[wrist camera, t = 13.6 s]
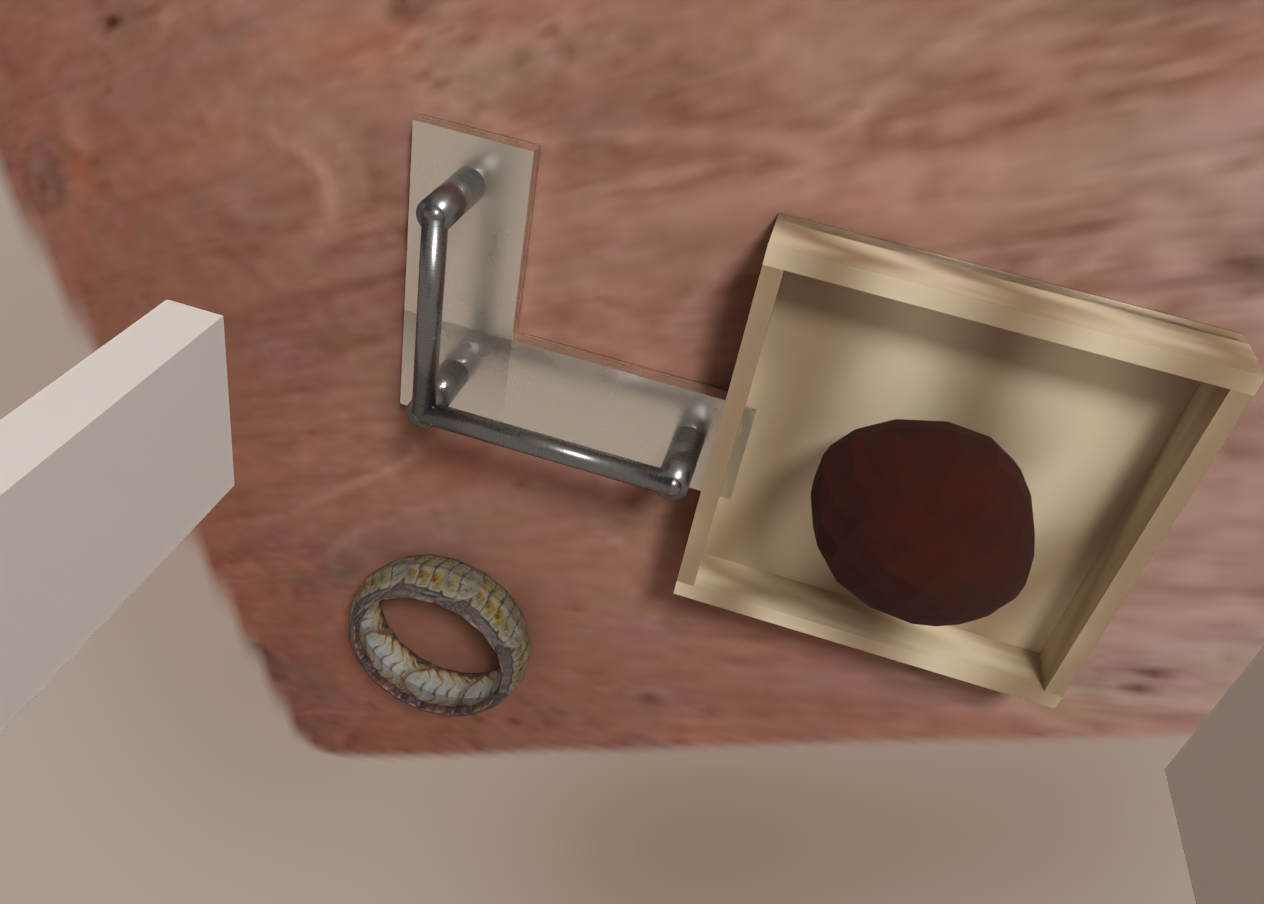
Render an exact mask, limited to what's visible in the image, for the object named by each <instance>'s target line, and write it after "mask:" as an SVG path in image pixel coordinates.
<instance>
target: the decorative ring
mask: <svg viewBox="0 0 1264 904" xmlns="http://www.w3.org/2000/svg"><path fill="white" fill-rule="evenodd" d="M407 597H408V598H413V599H417V600H422V601H427V602H432V603H436V604H438V605H440V606H442V607H444V608H446V609H448V610H450V611H452V612H454V613H456V614H458V615H460V616H462V617H463V618H464V619H465V620H467V621H468V622H469V623H470V624H472V625H473V626H474V627H475V628H476V629H478V630H479V631H480V632H481V633H482V634H483V635H484V636H485V638H486V639H487V641H488V642H489V643H490V645H491V646H492V648H493V649H494V651H495V652H496V653H497V656H498V659H499V663H500V667H499V668H496V669H494V670H492V671H489V672H485V673H467V674H465V673H461V672H456V671H451V670H447V669H442V668H440V667H438V666H436V665H434V664H432V663H430V662H428V661H425V660H423V659H421V658H419V657H418V656H417V655H416V654H414V653H413V652H412V651H411V650H409V649H408V648H407V647H406V646H404V645H403V644H402V643H401V642H400V641H399V640H398V638H397V637H396V636H395V634H394V633H393V632H392V630H391V629H390V628H389V626H388V625H387V623H386V620H385V617H384V614H383V611H382V609H381V606H380V604H381V601H382V600H384V599H396V598H407ZM349 639H350V641H351V644H352V647H353V650H354V652H355V655H356V658H357V660H358V662H359V663H360V664H361V665H362V667H363V668H364V669H365V671H366V672H367V673H368V674H369V676H370V677H371V678H372V679H373V681H374V682H376V683H377V684H378V685H380V686H381V687H382V688H383V689H385V690H386V691H387V692H389V693H390V694H391V695H392V696H394V697H395V698H397V699H399V700H401V701H403V702H405V703H407V704H409V705H411V706H413V707H415V708H418V709H420V710H422V711H427V712H431V713H435V714H440V715H444V716H471V715H475V714H478V713H480V712H483V711H485V710H488V709H490V708H493V707H495V706H496V705H498V704H500V703H502V702H503V701H504V700H505V699H506V698H507V696H508V695H509V694H510V693H511V692H512V691H513V690H514V689H515V688H516V687H517V685H518V684H519V683H520V682H521V681H522V679H523V678H524V675H525V670H526V666H527V661H528V657H529V651H530V643H529V638H528V634H527V630H526V626H525V622H524V618H523V614H522V612H521V611H520V609H519V608H518V606H517V605H516V603H515V602H514V600H513V599H512V598H511V596H510V595H509V593H508V592H507V591H506V590H505V589H504V588H502V587H501V586H500V585H499V584H498V583H496V582H495V581H494V580H493V579H492V578H490V577H489V576H488V575H487V574H486V573H484V572H482V571H480V570H478V569H476V568H474V567H471V566H469V565H467V564H465V563H463V562H461V561H459V560H455V559H450V558H445V557H440V556H435V555H420V556H410V557H403V558H400V559H397V560H395V561H393V562H391V563H389V564H387V565H385V566H384V567H382V568H380V569H378V570H376V571H374V572H373V573H372V574H371V575H370V576H368V577H367V578H366V579H365V581H364V582H363V584H362V585H361V587H360V589H359V590H358V592H357V593H356V595H355V596H354V599H353V602H352V604H351V609H350V624H349Z"/></svg>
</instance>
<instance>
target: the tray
mask: <svg viewBox="0 0 1264 904" xmlns="http://www.w3.org/2000/svg"><path fill="white" fill-rule="evenodd" d="M1263 381H1264V371H1263V369H1262V367H1261V366H1260V364H1259V362H1258V360H1257V358H1256V356H1255V354H1254V353H1253V351H1252V349H1251V347H1250V345H1249V343H1248V341H1247V339H1246V338H1245V336H1244V334H1241V333H1237V332H1233V331H1229V330H1225V329H1221V328H1218V327H1214V326H1210V325H1206V324H1202V323H1199V322H1195V321H1191V320H1187V319H1183V318H1179V317H1176V316H1172V315H1168V314H1164V313H1160V312H1156V311H1153V310H1149V309H1145V308H1141V307H1137V306H1133V305H1130V304H1126V303H1122V302H1118V301H1114V300H1111V299H1107V298H1103V297H1099V296H1095V295H1091V294H1088V293H1084V292H1080V291H1076V290H1072V289H1068V288H1065V287H1061V286H1057V285H1053V284H1049V283H1046V282H1042V281H1038V280H1034V279H1030V278H1026V277H1023V276H1019V275H1015V274H1011V273H1007V272H1003V271H1000V270H996V269H992V268H988V267H984V266H980V265H977V264H973V263H969V262H965V261H961V260H958V259H954V258H950V257H946V256H942V255H938V254H935V253H931V252H927V251H923V250H919V249H915V248H912V247H908V246H904V245H900V244H896V243H893V242H889V241H885V240H881V239H877V238H873V237H870V236H866V235H862V234H858V233H854V232H850V231H847V230H843V229H839V228H835V227H831V226H827V225H824V224H820V223H816V222H812V221H808V220H805V219H801V218H797V217H793V216H789V215H785V214H782V213H779V214H778V217H777V220H776V223H775V226H774V229H773V231H772V234H771V237H770V240H769V243H768V246H767V250H766V253H765V257H764V261H763V265H762V268H761V272H760V276H759V279H758V283H757V287H756V290H755V294H754V298H753V301H752V305H751V309H750V313H749V316H748V320H747V324H746V327H745V331H744V335H743V338H742V342H741V346H740V349H739V353H738V357H737V361H736V364H735V368H734V372H733V375H732V379H731V383H730V386H729V390H728V394H727V397H726V401H725V405H724V408H723V412H722V416H721V420H720V423H719V427H718V431H717V434H716V438H715V442H714V445H713V449H712V453H711V456H710V460H709V464H708V468H707V471H706V475H705V479H704V482H703V486H702V490H701V493H700V497H699V501H698V504H697V508H696V512H695V515H694V519H693V523H692V527H691V530H690V534H689V538H688V541H687V545H686V549H685V552H684V556H683V560H682V563H681V567H680V571H679V575H678V578H677V582H676V586H675V589H674V594H677V595H680V596H683V597H687V598H690V599H693V600H697V601H700V602H703V603H707V604H710V605H713V606H717V607H720V608H723V609H727V610H730V611H733V612H736V613H740V614H743V615H746V616H750V617H753V618H756V619H760V620H763V621H766V622H770V623H773V624H776V625H779V626H783V627H786V628H789V629H793V630H796V631H799V632H803V633H806V634H809V635H813V636H816V637H819V638H823V639H826V640H829V641H832V642H836V643H839V644H842V645H846V646H849V647H852V648H856V649H859V650H862V651H866V652H869V653H872V654H875V655H879V656H882V657H885V658H889V659H892V660H895V661H899V662H902V663H905V664H909V665H912V666H915V667H919V668H922V669H925V670H928V671H932V672H935V673H938V674H942V675H945V676H948V677H952V678H955V679H958V680H962V681H965V682H968V683H971V684H975V685H978V686H981V687H985V688H988V689H991V690H995V691H998V692H1001V693H1005V694H1008V695H1011V696H1015V697H1018V698H1021V699H1024V700H1028V701H1031V702H1034V703H1038V704H1041V705H1044V706H1048V707H1051V708H1054V709H1055V708H1056V706H1057V705H1058V703H1059V702H1060V700H1061V698H1062V697H1063V695H1064V694H1065V692H1066V691H1067V689H1068V687H1069V686H1070V684H1071V683H1072V681H1073V680H1074V678H1075V676H1076V675H1077V673H1078V672H1079V670H1080V669H1081V667H1082V665H1083V664H1084V662H1085V661H1086V659H1087V658H1088V656H1089V654H1090V653H1091V651H1092V650H1093V648H1094V647H1095V645H1096V643H1097V642H1098V640H1099V639H1100V637H1101V636H1102V634H1103V632H1104V631H1105V629H1106V628H1107V626H1108V625H1109V623H1110V621H1111V620H1112V618H1113V617H1114V615H1115V614H1116V612H1117V610H1118V609H1119V607H1120V606H1121V604H1122V603H1123V601H1124V599H1125V598H1126V596H1127V595H1128V593H1129V592H1130V590H1131V588H1132V587H1133V585H1134V584H1135V582H1136V581H1137V579H1138V577H1139V576H1140V574H1141V573H1142V571H1143V570H1144V568H1145V566H1146V565H1147V563H1148V562H1149V560H1150V559H1151V557H1152V555H1153V554H1154V552H1155V551H1156V549H1157V548H1158V546H1159V544H1160V543H1161V541H1162V540H1163V538H1164V537H1165V535H1166V533H1167V532H1168V530H1169V529H1170V527H1171V526H1172V524H1173V522H1174V521H1175V519H1176V518H1177V516H1178V514H1179V513H1180V511H1181V510H1182V508H1183V507H1184V505H1185V503H1186V502H1187V500H1188V499H1189V497H1190V496H1191V494H1192V492H1193V491H1194V489H1195V488H1196V486H1197V485H1198V483H1199V481H1200V480H1201V478H1202V477H1203V475H1204V474H1205V472H1206V470H1207V469H1208V467H1209V466H1210V464H1211V463H1212V461H1213V459H1214V458H1215V456H1216V455H1217V453H1218V452H1219V450H1220V448H1221V447H1222V445H1223V444H1224V442H1225V441H1226V439H1227V437H1228V436H1229V434H1230V433H1231V431H1232V430H1233V428H1234V426H1235V425H1236V423H1237V422H1238V420H1239V419H1240V417H1241V415H1242V414H1243V412H1244V411H1245V409H1246V408H1247V406H1248V404H1249V403H1250V401H1251V400H1252V398H1253V397H1254V395H1255V393H1256V392H1257V390H1258V389H1259V387H1260V386H1261V384H1262V382H1263ZM745 406H747V407H746V408H747V409H746V408H745ZM748 407H751V408H752V409H757V410H756V411H755V410H754V412H755V413H756V414H755V417H752V418H754V420H753V419H751V420H753V424H752V427H750V428H751V431H749V432H750V433H747V432H745V431H746V430H747V429H748V428H749V426H751V425H748V424H749V423H751V421H750V422H748V421H749V420H750V419H749V420H748V419H747V418H746V417H748V416H750V414H751V413H750V414H749V413H748V412H750V411H749V410H748ZM745 410H746V411H745ZM744 411H745V414H744V415H745V416H743V413H744ZM752 412H753V411H752ZM746 413H748V414H749V415H748V414H747V415H748V416H747V415H746ZM753 414H754V413H753ZM751 415H752V414H751ZM745 418H746V419H747V420H748V421H747V420H746V419H745ZM748 418H749V417H748ZM750 418H751V417H750ZM742 419H744V420H745V421H746V422H745V421H743V420H742ZM894 419H905V420H928V421H948V422H951V423H954V424H956V425H959V426H962V427H965V428H967V429H970V430H973V431H976V432H978V433H981V434H984V435H987V436H989V437H991V438H992V439H993V440H994V441H995V442H996V443H997V444H998V445H999V446H1000V447H1001V448H1002V449H1003V450H1004V451H1005V452H1006V453H1007V454H1008V455H1009V456H1010V457H1012V458H1013V459H1014V461H1015V462H1016V464H1017V465H1018V466H1019V468H1020V469H1021V471H1022V474H1023V476H1024V479H1025V481H1026V484H1027V486H1028V488H1029V491H1030V493H1031V499H1032V509H1033V519H1034V530H1035V548H1034V558H1033V562H1032V566H1031V569H1030V573H1029V576H1028V579H1027V582H1026V585H1025V586H1024V588H1023V589H1022V591H1021V592H1020V593H1019V595H1018V596H1017V597H1016V598H1015V599H1014V600H1012V601H1010V602H1009V603H1007V604H1006V605H1004V606H1002V607H1001V608H999V609H998V610H996V611H995V612H994V613H992V614H991V615H989V616H986V617H983V618H981V619H978V620H974V621H971V622H967V623H963V624H959V625H947V626H928V625H919V624H911V623H908V622H906V621H903V620H901V619H898V618H896V617H893V616H891V615H889V614H886V613H884V612H881V611H878V610H876V609H873V608H871V607H868V606H867V605H866V604H864V603H863V602H862V601H861V600H859V599H858V598H857V597H856V596H854V595H853V594H852V593H851V592H849V591H848V590H847V589H846V588H844V587H843V586H842V585H840V584H839V583H838V582H837V581H836V580H835V578H834V576H833V574H832V572H831V570H830V569H829V567H828V565H827V563H826V561H825V559H824V558H823V556H822V554H821V552H820V550H819V549H818V547H817V543H816V538H815V534H814V529H813V520H812V507H811V490H812V485H813V480H814V477H815V474H816V472H817V469H818V467H819V464H820V461H821V459H822V456H823V454H824V453H825V452H826V450H827V449H828V448H829V447H830V445H832V444H833V443H835V442H836V441H838V440H839V439H841V438H842V437H844V436H846V435H847V434H849V433H850V432H852V431H853V430H855V429H858V428H862V427H866V426H870V425H874V424H878V423H882V422H886V421H890V420H894ZM743 422H745V424H744V423H743ZM741 423H742V424H741ZM746 423H747V425H746ZM740 425H743V426H744V425H746V426H748V427H746V426H745V427H744V428H745V429H746V430H744V428H743V429H742V427H743V426H742V427H740ZM739 427H740V429H741V430H740V429H739ZM739 430H740V431H739ZM742 430H743V431H744V432H745V434H746V433H747V435H748V434H749V435H748V436H747V435H744V434H742V433H744V432H743V431H742ZM748 430H750V429H748ZM748 430H747V431H748ZM738 431H739V433H740V432H741V431H742V432H741V434H742V435H741V434H739V433H738ZM737 435H738V437H739V435H740V438H741V440H740V441H738V440H739V439H740V438H739V439H738V440H736V439H737V438H738V437H737ZM745 436H746V437H747V438H748V439H747V438H745ZM743 437H744V438H743ZM743 440H745V442H747V444H746V443H745V444H744V443H742V442H743ZM747 440H748V441H747ZM736 441H738V442H739V444H740V443H741V444H743V446H742V445H740V446H738V447H740V448H735V447H737V446H736V444H738V442H736ZM734 444H735V445H734ZM744 445H745V447H744ZM734 446H735V447H734ZM742 447H743V448H742ZM741 448H742V450H741ZM744 448H745V449H744ZM733 449H734V450H733ZM737 449H738V452H739V453H738V452H737ZM735 450H736V451H735ZM739 450H741V451H739ZM743 450H745V451H743ZM734 451H735V452H736V453H735V452H734ZM742 451H743V452H742ZM733 452H734V453H733ZM732 454H733V455H735V457H736V459H734V458H733V455H732ZM739 454H740V455H739ZM737 455H739V456H740V459H741V458H742V459H741V460H740V459H738V458H739V457H737ZM730 459H731V460H730ZM733 459H734V460H733ZM737 459H738V460H737ZM739 460H740V462H741V463H740V462H739ZM733 461H734V462H735V464H736V466H735V464H734V462H733ZM730 462H731V464H729V463H730ZM737 462H738V463H737ZM732 463H733V464H734V465H733V464H732ZM739 463H740V464H741V465H740V466H738V465H739ZM730 465H732V466H730ZM729 466H730V467H729ZM734 466H735V467H734ZM736 467H737V468H736ZM739 467H740V468H739ZM728 468H729V469H728ZM734 468H735V469H736V470H735V469H734ZM737 469H738V470H737ZM733 471H734V472H733ZM735 471H736V473H735ZM727 472H728V473H727ZM731 472H732V473H735V474H734V475H733V474H732V473H731ZM729 474H730V475H729ZM728 475H729V476H728ZM733 476H734V477H737V478H735V479H734V477H733ZM725 477H727V478H725ZM728 477H729V478H728ZM730 477H731V478H730ZM732 477H733V478H732ZM724 479H725V480H724ZM727 479H728V480H727ZM731 479H732V480H731ZM733 479H734V480H733ZM724 481H725V484H726V483H728V484H726V485H727V486H725V484H724ZM728 481H729V482H728ZM731 481H732V482H734V483H732V482H731ZM730 485H731V486H730ZM733 485H734V486H733ZM725 487H726V488H725ZM728 487H730V489H729V488H728ZM724 488H725V489H724ZM732 488H733V489H732ZM722 489H723V490H724V491H725V490H726V489H727V490H726V491H725V492H724V491H723V490H722ZM728 490H729V491H730V492H729V491H728ZM731 490H732V492H731ZM721 492H722V494H721ZM723 494H724V495H723ZM729 495H730V496H729ZM724 496H725V497H726V498H725V497H724ZM727 497H728V498H729V499H728V498H727Z"/></svg>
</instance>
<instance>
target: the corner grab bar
mask: <svg viewBox="0 0 1264 904" xmlns="http://www.w3.org/2000/svg"><path fill="white" fill-rule="evenodd" d="M539 153H540V145H537V144H533V143H529V142H526V141H522V140H518V139H514V138H510V137H506V136H503V135H499V134H495V133H491V132H487V131H483V130H480V129H476V128H472V127H468V126H464V125H460V124H457V123H453V122H449V121H445V120H441V119H437V118H434V117H430V116H426V115H422V114H421V115H419V116H418V117H416V118H415V119H413V128H412V150H411V172H410V195H409V217H408V240H407V262H406V284H405V307H404V329H403V351H402V374H401V396H400V403H401V404H404V405H407V407H406V413H407V416H408V418H409V419H410V421H411V422H412V423H414V424H415V425H417V426H419V427H422V428H430V427H432V426H433V427H436V428H440V429H443V430H446V431H450V432H453V433H457V434H460V435H464V436H467V437H470V438H474V439H477V440H481V441H484V442H487V443H491V444H494V445H498V446H501V447H505V448H508V449H511V450H515V451H518V452H522V453H525V454H529V455H532V456H535V457H539V458H542V459H546V460H549V461H552V462H556V463H559V464H563V465H566V466H570V467H573V468H576V469H580V470H583V471H587V472H590V473H593V474H597V475H600V476H604V477H607V478H611V479H614V480H617V481H621V482H624V483H628V484H631V485H635V486H638V487H641V488H645V489H648V490H652V491H655V492H657V493H658V494H659V495H660V496H662V497H663V498H665V499H667V500H673V501H675V500H680V499H682V498H683V497H685V495H686V494H687V492H688V489H689V488H693V489H696V490H699V491H701V490H702V486H703V482H704V479H705V475H706V471H707V468H708V464H709V460H710V456H711V453H712V449H713V445H714V442H715V438H716V434H717V431H718V427H719V423H720V420H721V416H722V412H723V408H724V405H725V401H726V397H727V394H728V391H727V390H723V389H719V388H716V387H712V386H709V385H705V384H702V383H698V382H694V381H691V380H687V379H684V378H680V377H677V376H673V375H669V374H666V373H662V372H659V371H655V370H652V369H648V368H645V367H641V366H637V365H634V364H630V363H627V362H623V361H620V360H616V359H612V358H609V357H605V356H602V355H598V354H595V353H591V352H587V351H584V350H580V349H577V348H573V347H570V346H566V345H563V344H559V343H555V342H552V341H548V340H545V339H541V338H538V337H534V336H530V335H527V334H523V333H520V332H518V327H519V319H520V310H521V302H522V294H523V286H524V277H525V269H526V261H527V252H528V244H529V236H530V228H531V219H532V211H533V203H534V194H535V186H536V178H537V170H538V161H539ZM746 407H747V406H745V408H746ZM746 409H747V408H746ZM748 410H749V411H750V412H748V413H749V414H750V413H751V414H752V415H751V414H750V416H748V415H749V414H748V413H746V415H747V414H748V415H747V416H748V417H749V418H748V417H746V418H747V419H748V420H749V419H750V420H749V421H748V420H747V419H746V418H745V419H746V420H747V421H748V422H750V421H751V423H749V424H748V425H751V426H749V428H748V429H750V430H748V429H747V430H748V431H747V430H746V429H745V428H744V427H745V426H746V425H747V423H746V425H744V426H743V425H740V427H742V426H743V427H742V429H743V428H744V430H746V431H745V432H747V433H750V432H749V431H751V428H750V427H752V424H753V420H754V418H752V417H755V414H756V413H755V412H754V410H755V411H756V410H757V409H752V408H751V407H748ZM745 411H746V410H745ZM745 411H744V413H743V416H745V415H744V414H745ZM752 411H753V412H752ZM753 413H754V414H753ZM750 417H751V418H750ZM751 419H753V420H751ZM742 420H743V421H745V420H744V419H742ZM745 422H746V421H745ZM745 422H743V423H744V424H745ZM741 424H742V423H741ZM740 427H739V429H740ZM746 427H748V426H746ZM740 430H741V429H740ZM740 430H739V431H740ZM739 431H738V433H739ZM742 431H743V430H742ZM742 431H741V432H742ZM741 432H740V433H739V434H741ZM743 432H744V431H743ZM745 432H744V433H742V434H744V435H747V433H746V434H745ZM742 434H741V435H742ZM748 435H749V434H748ZM748 435H747V436H748ZM737 437H738V435H737ZM739 438H740V435H739V437H738V438H737V439H736V440H738V439H739ZM743 438H744V437H743ZM745 438H747V437H746V436H745ZM747 439H748V438H747ZM740 440H741V438H740V439H739V440H738V441H740ZM738 441H736V442H738ZM747 441H748V440H747ZM742 443H744V444H745V443H746V444H747V442H745V440H743V442H742ZM734 445H735V444H734ZM740 445H742V446H743V444H741V443H740V444H739V442H738V444H736V446H737V447H735V446H734V447H735V448H740V447H738V446H740ZM744 447H745V445H744ZM742 448H743V447H742ZM742 448H741V450H742ZM744 449H745V448H744ZM733 450H734V449H733ZM741 450H739V451H741ZM735 451H736V450H735ZM735 451H734V452H735ZM743 451H745V450H743ZM743 451H742V452H743ZM734 452H733V453H734ZM737 452H738V449H737ZM735 453H736V452H735ZM738 453H739V452H738ZM732 455H733V454H732ZM739 455H740V454H739ZM739 455H737V457H739V458H738V459H740V456H739ZM733 458H734V459H736V457H735V455H733ZM734 459H733V460H734ZM738 459H737V460H738ZM741 459H742V458H741ZM741 459H740V460H741ZM730 460H731V459H730ZM740 460H739V462H740ZM733 462H734V461H733ZM737 463H738V462H737ZM740 463H741V462H740ZM740 463H739V465H738V466H740V465H741V464H740ZM729 464H731V462H730V463H729ZM732 464H733V463H732ZM734 464H735V462H734ZM734 464H733V465H734ZM730 466H732V465H730ZM730 466H729V467H730ZM735 466H736V464H735ZM735 466H734V467H735ZM736 468H737V467H736ZM739 468H740V467H739ZM728 469H729V468H728ZM734 469H735V468H734ZM735 470H736V469H735ZM737 470H738V469H737ZM733 472H734V471H733ZM727 473H728V472H727ZM731 473H732V472H731ZM735 473H736V471H735ZM735 473H732V474H733V475H734V474H735ZM729 475H730V474H729ZM729 475H728V476H729ZM733 477H734V476H733ZM733 477H732V478H733ZM725 478H727V477H725ZM728 478H729V477H728ZM730 478H731V477H730ZM735 478H737V477H734V479H735ZM734 479H733V480H734ZM724 480H725V479H724ZM727 480H728V479H727ZM731 480H732V479H731ZM728 482H729V481H728ZM731 482H732V481H731ZM732 483H734V482H732ZM724 484H725V481H724ZM726 484H728V483H726ZM726 484H725V486H727V485H726ZM730 486H731V485H730ZM733 486H734V485H733ZM725 488H726V487H725ZM725 488H724V489H725ZM728 488H729V489H730V487H728ZM732 489H733V488H732ZM722 490H723V489H722ZM726 490H727V489H726ZM726 490H725V491H726ZM723 491H724V490H723ZM725 491H724V492H725ZM728 491H729V490H728ZM729 492H730V491H729ZM731 492H732V490H731ZM721 494H722V492H721ZM723 495H724V494H723ZM729 496H730V495H729ZM724 497H725V496H724ZM725 498H726V497H725ZM727 498H728V497H727ZM728 499H729V498H728Z"/></svg>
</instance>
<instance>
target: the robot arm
mask: <svg viewBox="0 0 1264 904" xmlns="http://www.w3.org/2000/svg"><path fill="white" fill-rule="evenodd" d="M233 486H234V471H233V456H232V441H231V426H230V411H229V396H228V381H227V366H226V351H225V336H224V320H223V316H222V315H219V314H215V313H212V312H208V311H205V310H201V309H198V308H194V307H191V306H188V305H184V304H181V303H177V302H174V301H170V300H166V301H164V302H163V303H161V304H160V305H159V306H157V307H156V308H155V309H153V310H152V311H150V312H149V313H148V314H146V315H145V316H144V317H142V318H141V319H139V320H138V321H137V322H135V323H134V324H132V325H131V326H130V327H128V328H127V329H126V330H124V331H123V332H121V333H120V334H119V335H117V336H116V337H114V338H113V339H112V340H110V341H109V342H108V343H106V344H105V345H103V346H102V347H101V348H99V349H98V350H97V351H95V352H94V353H92V354H91V355H90V356H88V357H87V358H85V359H84V360H83V361H81V362H80V363H79V364H77V365H76V366H74V367H73V368H72V369H70V370H69V371H68V372H66V373H65V374H63V375H62V376H61V377H59V378H58V379H57V380H55V381H54V382H53V383H51V384H50V385H48V386H47V387H45V388H44V389H43V390H41V391H40V392H39V393H37V394H36V395H35V396H33V397H32V398H30V399H29V400H27V401H26V402H25V403H24V404H22V405H21V406H19V407H18V408H16V409H15V410H14V411H12V412H11V413H10V414H8V415H7V416H5V417H4V418H3V419H1V420H0V733H1V732H2V731H3V730H4V729H5V728H6V727H7V726H8V725H9V724H10V723H11V722H12V721H13V720H14V718H15V717H16V716H17V715H18V714H19V713H20V712H21V711H22V710H23V709H24V708H25V707H26V706H27V705H28V704H29V703H30V702H31V700H32V699H33V698H34V697H35V696H36V695H37V694H38V693H39V692H40V691H41V690H42V689H43V688H44V687H45V685H47V684H48V682H49V681H50V680H51V679H52V678H53V677H54V676H55V675H56V674H57V673H58V672H59V671H60V670H61V669H62V668H63V666H64V665H65V664H66V663H67V662H68V661H69V660H70V659H71V658H72V657H73V656H74V655H75V654H76V653H77V652H78V651H79V649H80V648H81V647H82V646H83V645H84V644H85V643H86V642H87V641H88V640H89V639H90V638H91V637H92V636H93V635H94V633H96V631H97V630H98V629H99V628H100V627H101V626H102V625H103V624H104V623H105V622H106V621H107V620H108V619H109V617H111V616H112V614H113V613H114V612H115V611H116V610H117V609H118V608H119V607H120V606H121V605H122V604H123V603H124V602H125V601H126V600H127V598H128V597H129V596H130V595H131V594H132V593H133V592H134V591H135V590H136V589H137V588H138V587H139V586H140V585H141V584H142V583H143V582H144V580H145V579H146V578H147V577H148V576H149V575H150V574H151V573H152V572H153V571H154V570H155V569H156V568H157V567H158V566H159V564H160V563H161V562H162V561H163V560H164V559H165V558H166V557H167V556H168V555H169V554H170V553H171V552H172V551H173V550H174V548H176V547H177V545H178V544H179V543H180V542H181V541H182V540H183V539H184V538H185V537H186V536H187V535H188V534H189V533H190V532H191V531H192V530H193V528H194V527H195V526H196V525H197V524H198V523H199V522H200V521H201V520H202V519H203V518H204V517H205V516H206V515H207V514H208V513H209V511H210V510H211V509H212V508H213V507H214V506H215V505H216V504H217V503H218V502H219V501H220V500H221V499H222V498H223V497H224V496H225V494H226V493H227V492H228V491H229V490H230V489H231V488H232V487H233ZM1165 772H1166V776H1167V781H1168V785H1169V789H1170V793H1171V798H1172V802H1173V806H1174V811H1175V815H1176V819H1177V823H1178V828H1179V832H1180V836H1181V841H1182V845H1183V849H1184V853H1185V858H1186V861H1187V866H1188V870H1189V875H1190V879H1191V883H1192V888H1193V892H1194V896H1195V900H1196V904H1264V647H1263V648H1262V649H1261V650H1260V652H1259V653H1258V654H1257V655H1256V657H1255V658H1254V659H1253V660H1252V662H1251V663H1250V664H1249V665H1248V667H1247V668H1246V669H1245V670H1244V672H1243V673H1242V674H1241V675H1240V677H1239V678H1238V679H1237V680H1236V682H1235V683H1234V684H1233V685H1232V687H1231V688H1230V689H1229V690H1228V691H1227V693H1226V694H1225V695H1224V696H1223V698H1222V699H1221V700H1220V701H1219V703H1218V704H1217V705H1216V706H1215V708H1214V709H1213V710H1212V711H1211V713H1210V714H1209V715H1208V716H1207V718H1206V719H1205V720H1204V721H1203V723H1202V724H1201V725H1200V726H1199V728H1198V729H1197V730H1196V731H1195V733H1194V734H1193V735H1192V736H1191V737H1190V739H1189V740H1188V741H1187V742H1186V744H1185V745H1184V746H1183V747H1182V749H1181V750H1180V751H1179V753H1178V754H1177V755H1176V756H1175V758H1174V759H1173V760H1172V761H1171V762H1170V764H1169V765H1168V766H1167V767H1166V769H1165Z"/></svg>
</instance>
